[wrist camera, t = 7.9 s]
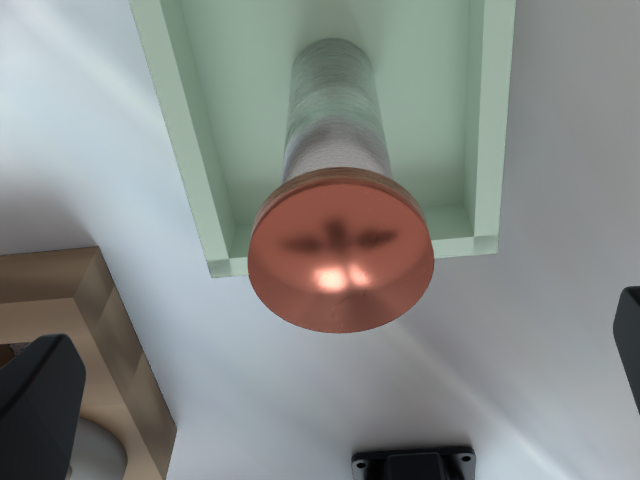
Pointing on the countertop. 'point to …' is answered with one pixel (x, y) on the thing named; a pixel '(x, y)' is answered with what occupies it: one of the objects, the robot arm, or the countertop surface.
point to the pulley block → (91, 360)
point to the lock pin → (338, 206)
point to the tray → (392, 89)
